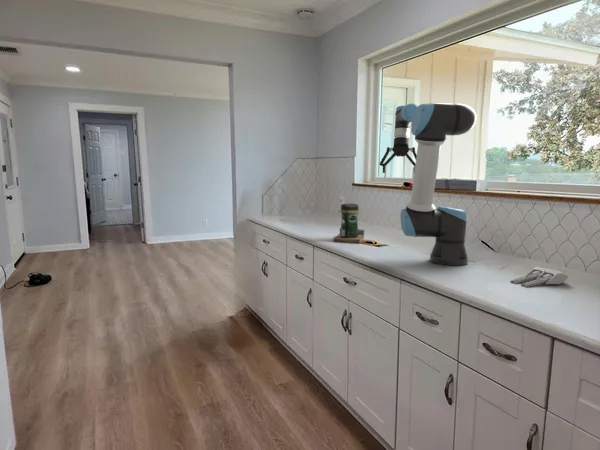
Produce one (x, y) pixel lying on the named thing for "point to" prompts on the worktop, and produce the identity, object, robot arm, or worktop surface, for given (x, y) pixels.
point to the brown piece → (350, 240)
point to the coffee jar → (349, 220)
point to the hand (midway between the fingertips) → (398, 180)
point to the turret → (541, 277)
